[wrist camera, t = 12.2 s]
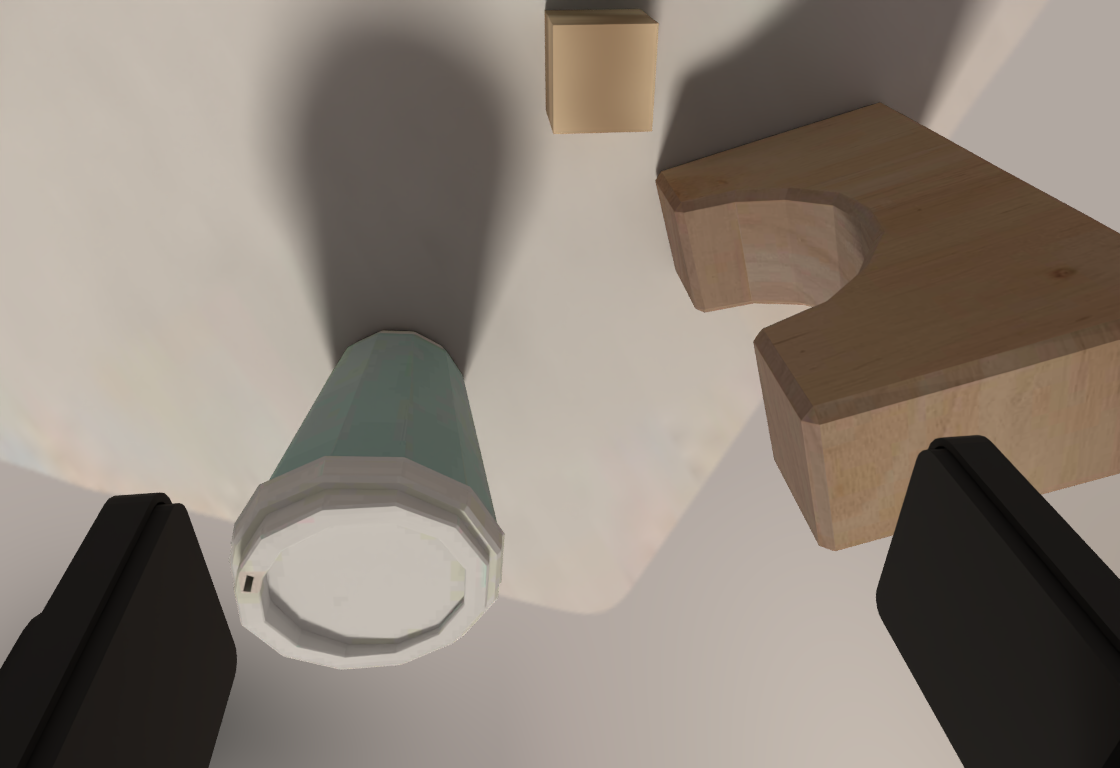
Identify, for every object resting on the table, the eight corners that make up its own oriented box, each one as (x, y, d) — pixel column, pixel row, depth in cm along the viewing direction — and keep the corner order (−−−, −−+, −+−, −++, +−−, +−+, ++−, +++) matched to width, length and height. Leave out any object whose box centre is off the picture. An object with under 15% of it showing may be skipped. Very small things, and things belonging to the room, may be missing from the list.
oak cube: (545, 109, 35) (553, 133, 31) (544, 10, 33) (552, 25, 29) (634, 106, 35) (651, 131, 32) (639, 8, 33) (658, 23, 29)
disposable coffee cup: (525, 325, 40) (549, 527, 28) (466, 481, 46) (463, 710, 33) (315, 268, 38) (237, 463, 25) (278, 440, 43) (198, 674, 30)
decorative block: (673, 273, 40) (821, 563, 23) (651, 166, 36) (803, 411, 20) (890, 211, 39) (1206, 464, 22) (886, 97, 36) (1250, 290, 19)
